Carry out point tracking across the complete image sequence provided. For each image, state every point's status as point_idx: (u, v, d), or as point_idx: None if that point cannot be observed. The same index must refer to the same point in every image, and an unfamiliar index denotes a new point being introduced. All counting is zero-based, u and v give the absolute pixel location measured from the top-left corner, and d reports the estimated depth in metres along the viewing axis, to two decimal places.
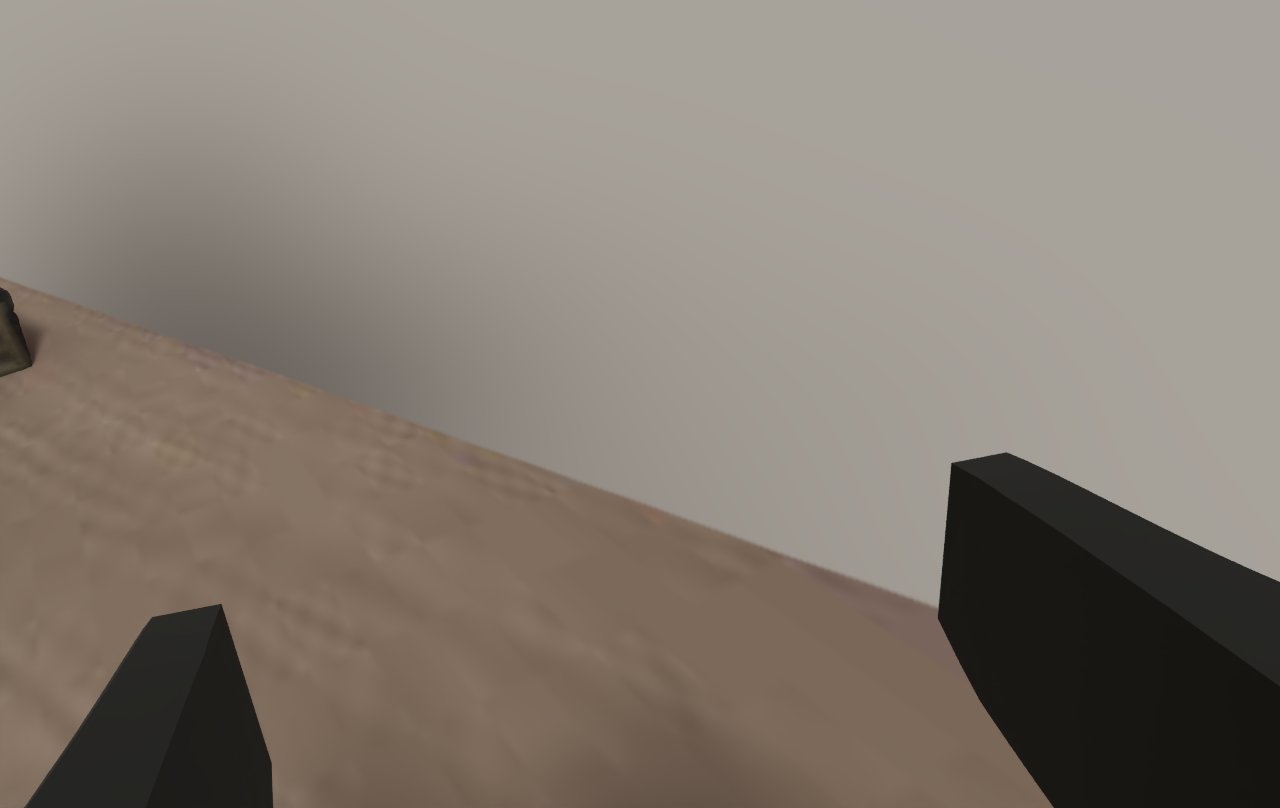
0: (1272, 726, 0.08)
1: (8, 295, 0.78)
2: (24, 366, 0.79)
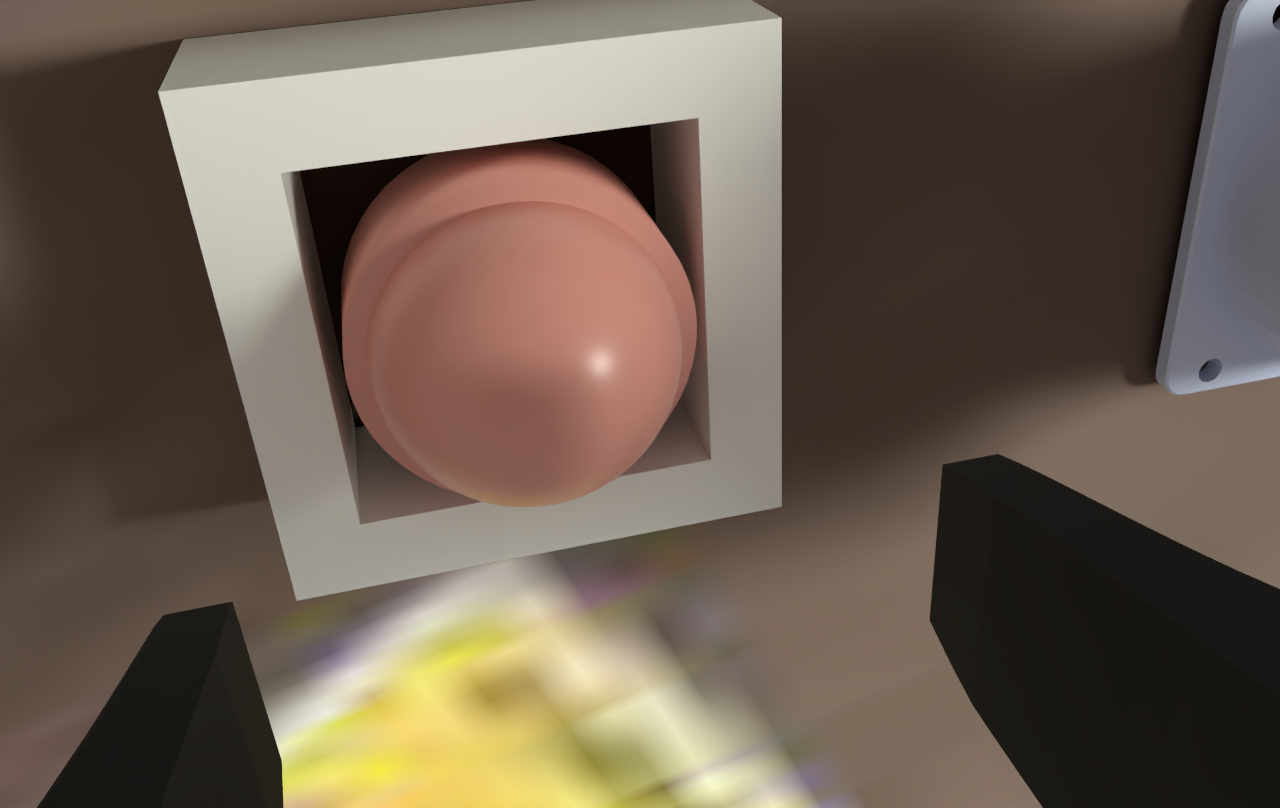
0: (1260, 728, 0.08)
1: None
2: None
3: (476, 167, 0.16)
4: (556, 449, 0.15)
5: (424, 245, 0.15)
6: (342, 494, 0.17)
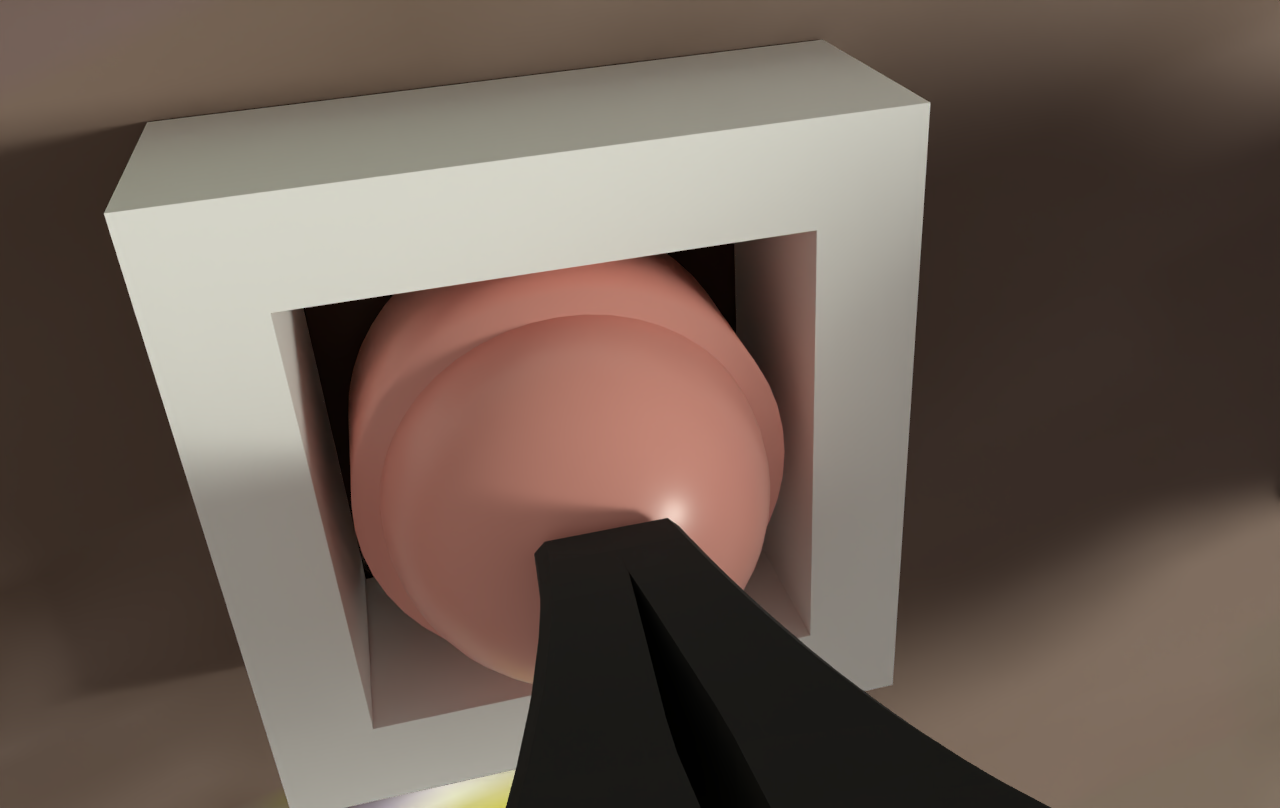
0: None
1: None
2: None
3: None
4: None
5: (454, 373, 0.12)
6: (351, 695, 0.14)
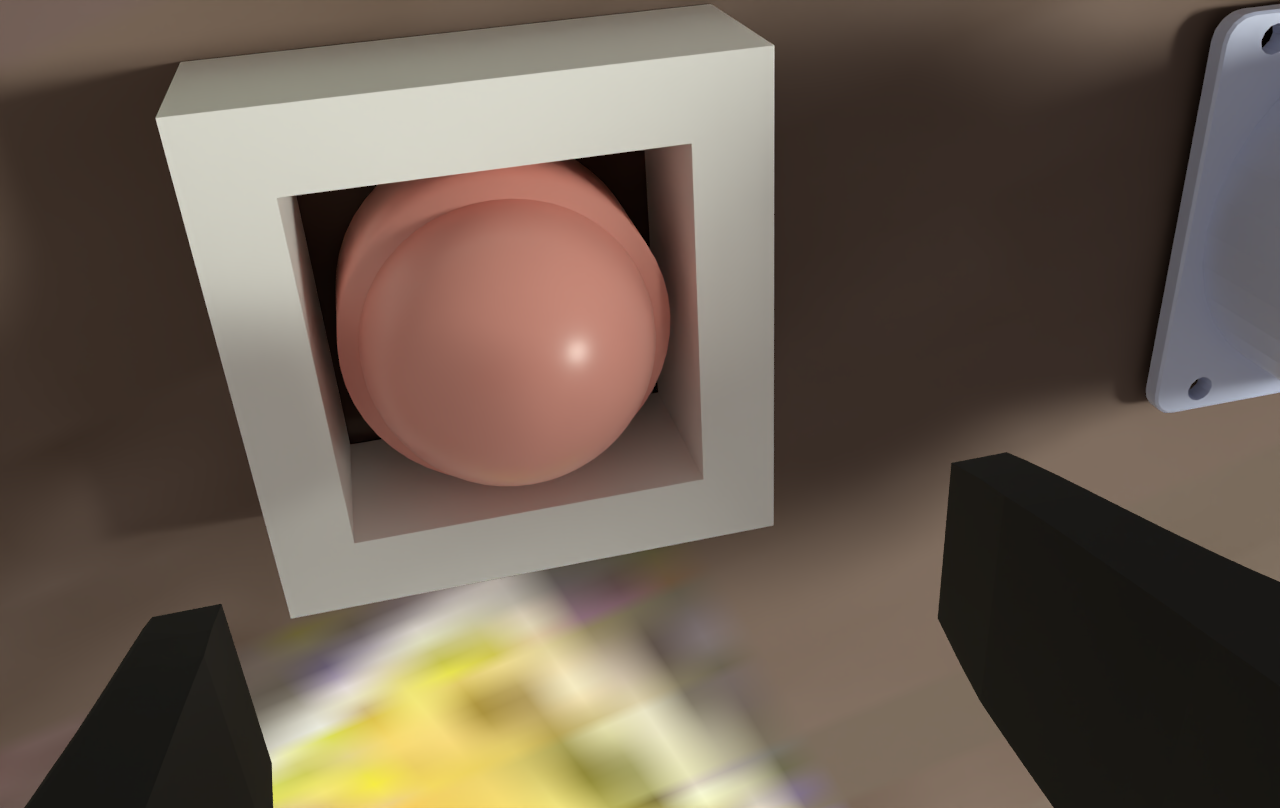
0: (1273, 725, 0.08)
1: None
2: None
3: None
4: (535, 429, 0.16)
5: (413, 239, 0.16)
6: (336, 513, 0.18)
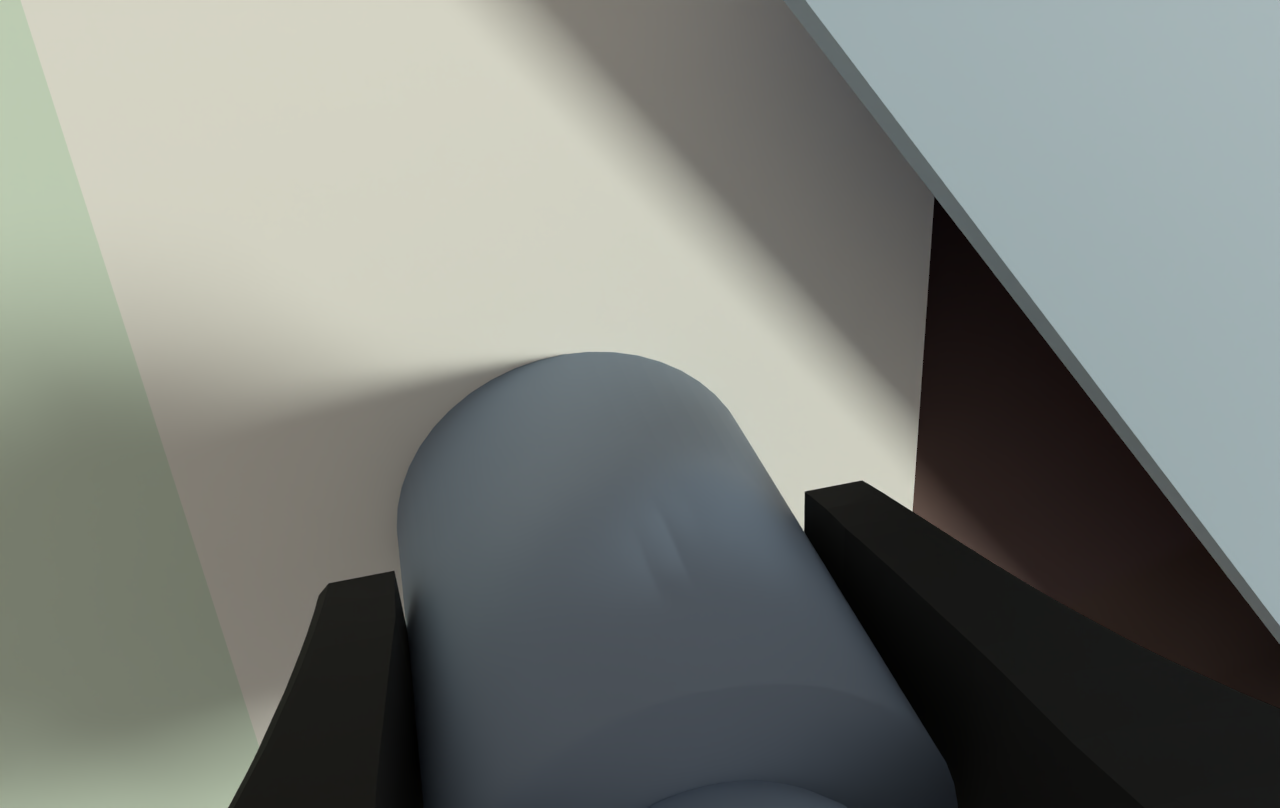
0: (1063, 777, 0.07)
1: None
2: None
3: None
4: None
5: None
6: None
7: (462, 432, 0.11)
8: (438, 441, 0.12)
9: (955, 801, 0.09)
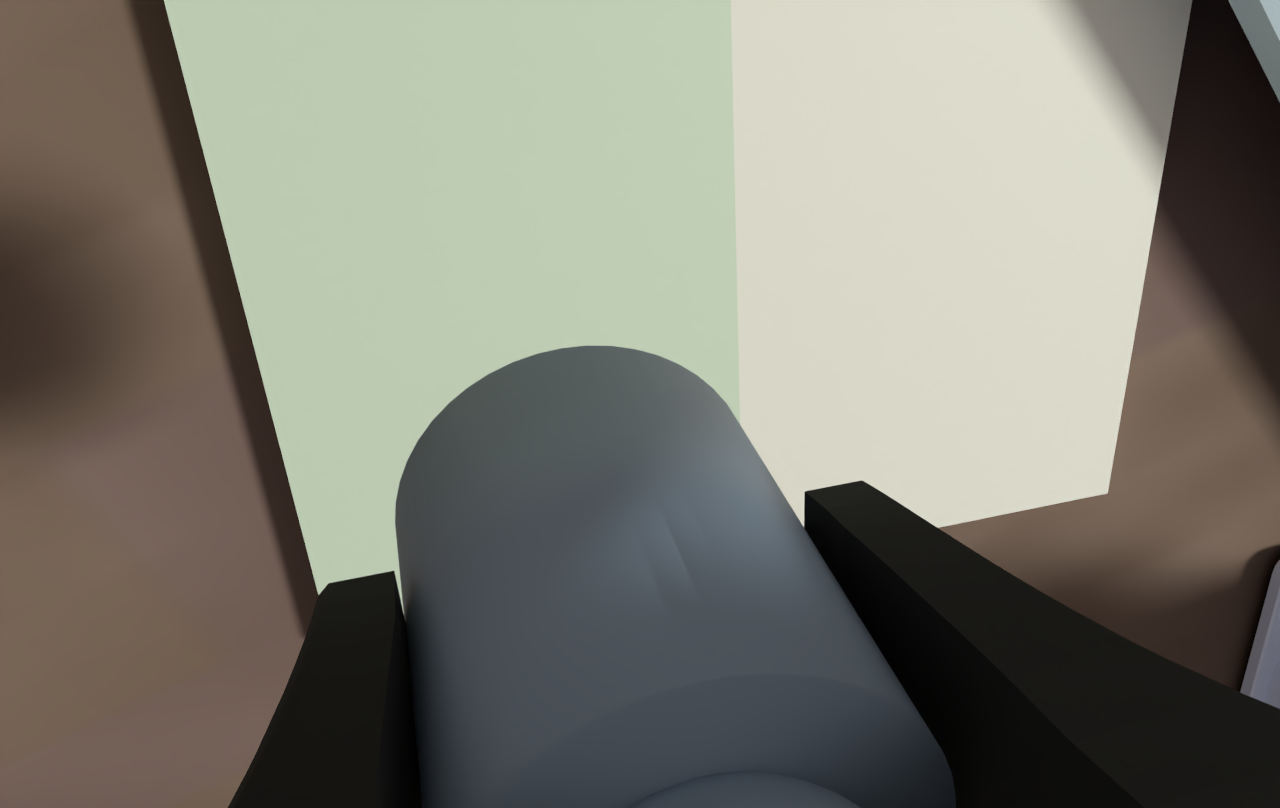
0: (1064, 778, 0.07)
1: None
2: None
3: None
4: None
5: None
6: None
7: (460, 426, 0.11)
8: (436, 435, 0.12)
9: (952, 793, 0.09)
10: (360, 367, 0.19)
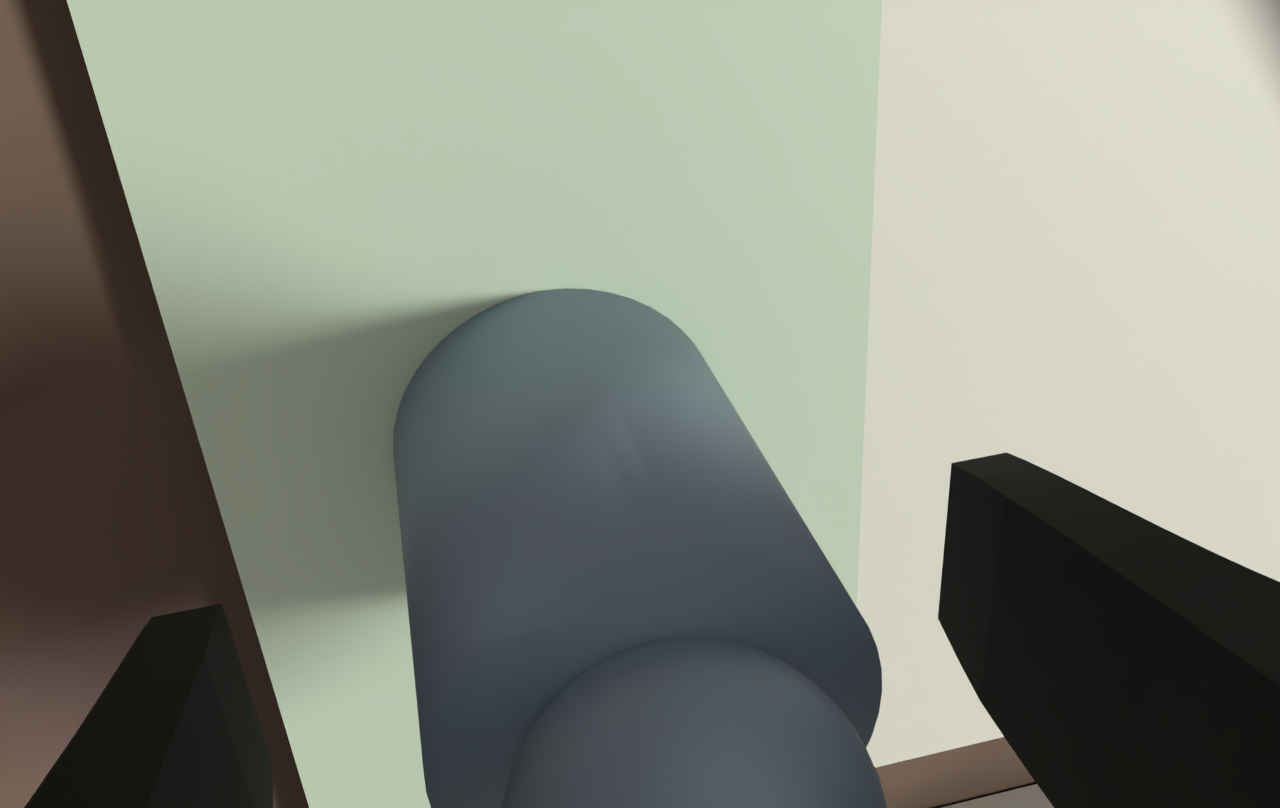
0: (1272, 724, 0.08)
1: None
2: None
3: None
4: None
5: None
6: None
7: (451, 358, 0.13)
8: (429, 368, 0.13)
9: (879, 666, 0.10)
10: (373, 566, 0.14)
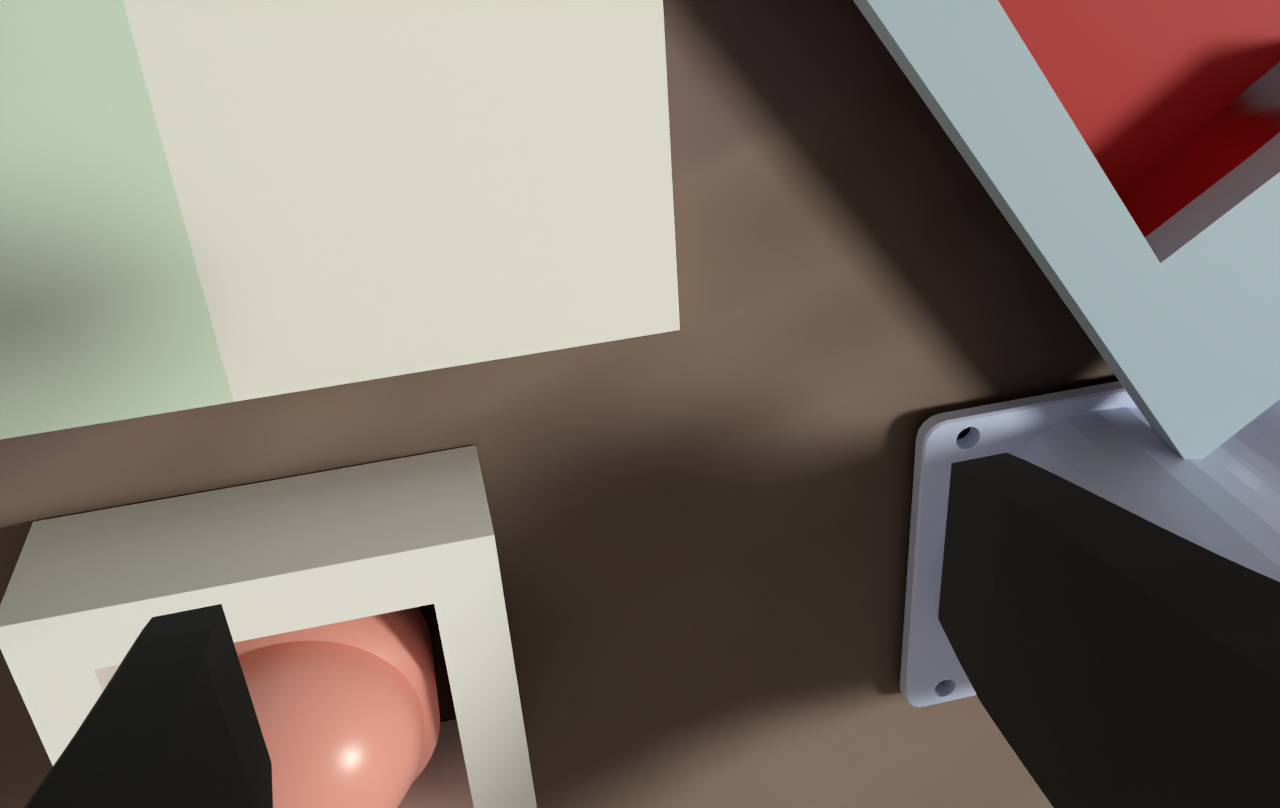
0: (1272, 726, 0.08)
1: None
2: None
3: None
4: None
5: None
6: None
7: None
8: None
9: None
10: None
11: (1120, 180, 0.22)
